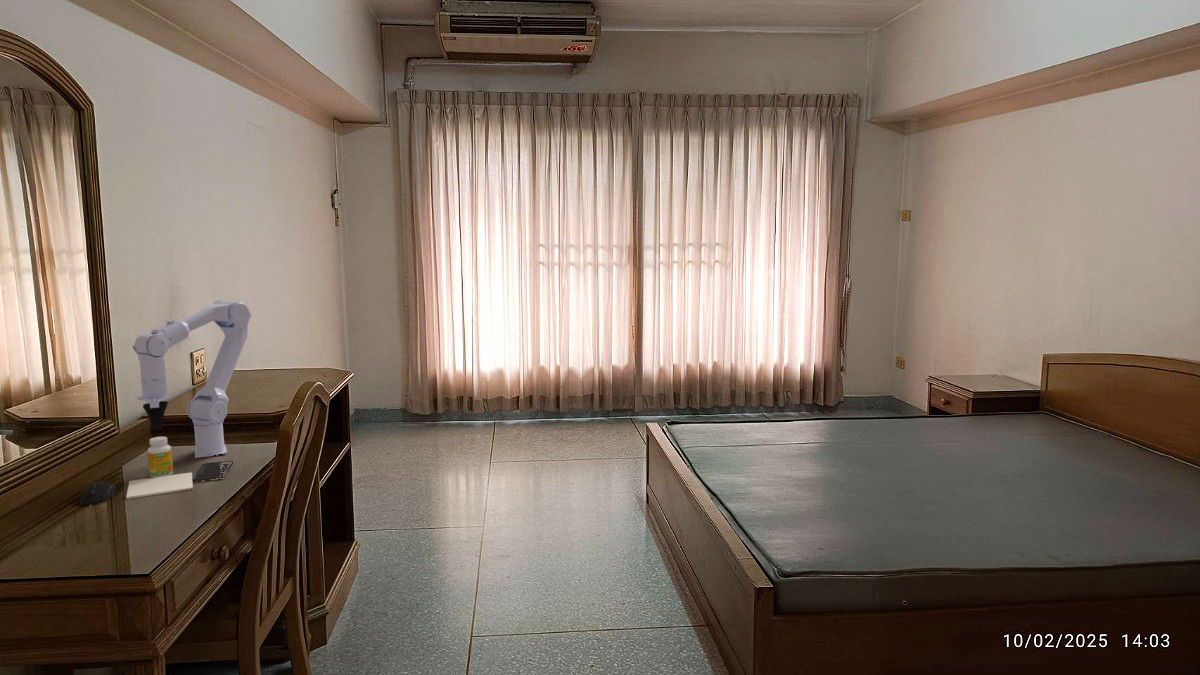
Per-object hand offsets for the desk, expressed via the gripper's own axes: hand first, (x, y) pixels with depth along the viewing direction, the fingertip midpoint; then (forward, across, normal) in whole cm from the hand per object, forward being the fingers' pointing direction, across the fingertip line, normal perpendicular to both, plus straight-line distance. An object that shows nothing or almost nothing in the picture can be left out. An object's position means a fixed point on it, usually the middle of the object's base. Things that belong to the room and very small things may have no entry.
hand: (157, 429), depth 212 cm
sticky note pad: (+10, +18, 0) cm, 21 cm away
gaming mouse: (+11, +21, -13) cm, 27 cm away
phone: (+11, +12, +12) cm, 20 cm away
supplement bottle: (+11, +7, 0) cm, 13 cm away
